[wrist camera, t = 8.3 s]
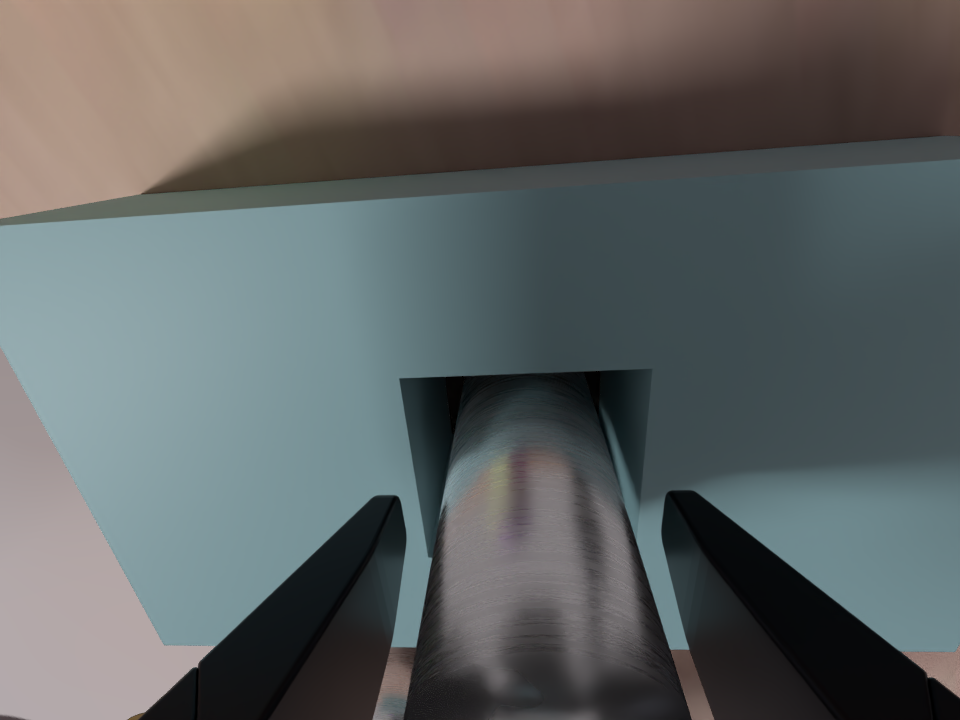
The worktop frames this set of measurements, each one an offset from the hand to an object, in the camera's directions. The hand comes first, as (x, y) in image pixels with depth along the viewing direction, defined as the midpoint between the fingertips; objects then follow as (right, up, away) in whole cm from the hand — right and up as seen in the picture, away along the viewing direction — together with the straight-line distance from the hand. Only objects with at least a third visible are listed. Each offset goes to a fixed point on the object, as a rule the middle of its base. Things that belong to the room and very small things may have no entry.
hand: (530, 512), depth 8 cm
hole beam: (0, +2, +5) cm, 6 cm away
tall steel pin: (0, +2, +5) cm, 6 cm away
